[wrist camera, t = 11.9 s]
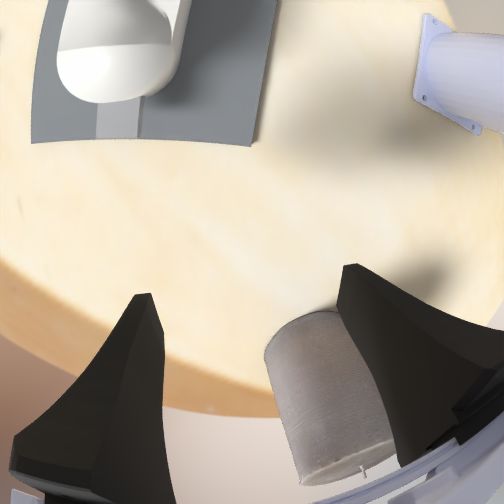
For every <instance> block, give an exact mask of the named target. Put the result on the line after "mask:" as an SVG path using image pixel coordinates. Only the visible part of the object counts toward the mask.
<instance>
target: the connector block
mask: <svg viewBox="0 0 504 504" xmlns="http://www.w3.org/2000/svg"><path fill="white" fill-rule="evenodd" d="M191 3H192V0H69V2H68V5H67V9H66V13H65V17H64V21H63V26H62V30H61V35H60V40H59V45H58V51H57V69H58V74H59V77H60V79H61V81H62V83H63V85H64V86H65V87H66V89H67V90H68V91H69V92H70V93H71V94H73V95H74V96H76V97H77V98H80V99H82V100H84V101H88V102H93V103H98V109H97V124H96V139H137V138H138V137H139V136H141V132H142V121H143V110H144V101H145V98H146V97H150V96H152V95H154V94H156V93H158V92H160V91H161V90H162V89H164V88H165V87H166V86H167V85H168V84H169V83H170V82H171V80H172V79H173V77H174V76H175V74H176V72H177V69H178V66H179V62H180V56H181V51H182V45H183V40H184V35H185V30H186V25H187V21H188V16H189V11H190V7H191Z"/></svg>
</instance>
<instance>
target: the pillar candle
mask: <svg viewBox="0 0 504 504" xmlns="http://www.w3.org/2000/svg"><path fill="white" fill-rule="evenodd" d="M264 361H265V363H266V366H267V371H268V375H269V378H270V383H271V386H272V390H273V392H274V397H275V400H276V403H277V408H278V411H279V414H280V418H281V420H282V424H283V426H284V429H285V432H286V436H287V439H288V442H289V445H290V449H291V451H292V455H293V459H294V462H295V466H296V469H297V472H298V474H299V478H300V483H299V485H304V486H316V485H323V484H328V483H331V482H335V481H339V480H342V479H344V478H347V477H350V476H352V475H355V474H357V473H360V472H363V477H364V478H366V477H367V476H366V473H365V470H367V469H369V468H371V467H373V466H375V465H377V464H379V463H380V462H382V461H384V460H386V459H387V458H389V457H391V456H392V455H394V454H396V448H395V443H394V439H393V434H392V430H391V427H390V423H389V420H388V416H387V413H386V410H385V407H384V404H383V401H382V399H381V396H380V393H379V391H378V388H377V386H376V383H375V381H374V378H373V376H372V374H371V372H370V370H369V368H368V366H367V364H366V363H365V361H364V359H363V357H362V356H361V354H360V352H359V350H358V349H357V347H356V345H355V343H354V342H353V340H352V338H351V336H350V335H349V333H348V331H347V329H346V328H345V326H344V323H343V321H342V318H341V316H340V314H339V313H337V312H330V311H324V312H316V313H312V314H308V315H305V316H302V317H299V318H297V319H295V320H294V321H291V322H289V323H288V324H286V325H285V326H283V327H282V328H281V329H280V330H279V331H278V333H277V334H276V335H275V336H274V338H273V339H272V340H271V341H270V343H269V344H268V346H267V347H266V349H265V353H264Z"/></svg>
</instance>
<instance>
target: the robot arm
mask: <svg viewBox="0 0 504 504" xmlns="http://www.w3.org/2000/svg"><path fill="white" fill-rule="evenodd" d="M433 22H434V23H433ZM423 96H424V99H422V97H423ZM413 98H414V100H415V101H417V102H419V103H421V104H423V105H425V106H427V107H429V108H431V109H432V110H434V111H436V112H438V113H440V114H442V115H444V116H445V117H447V118H449V119H451V120H452V121H454V122H456V123H457V124H459V125H461V126H462V127H464V128H466V129H467V130H469V131H470V132H472V133H474V134H475V135H480V134H481V130H482V127H485V128H488V129H490V130H493V131H496V132H499V133H501V134H504V35H498V34H485V33H455V32H454V31H453V30H452V29H450V28H449V27H448V26H446V25H445V24H444V23H442V22H441V21H439V20H438V19H437V18H435V17H434V16H432V15H431V14H424V15H423V24H422V34H421V43H420V51H419V59H418V65H417V72H416V78H415V84H414V89H413ZM336 306H337V308H338V311H339V314H340V316H341V318H342V321H343V323H344V326H345V328H346V329H347V331H348V333H349V335H350V336H351V338H352V340H353V342H354V343H355V345H356V347H357V349H358V350H359V352H360V354H361V356H362V357H363V359H364V361H365V363H366V364H367V366H368V368H369V370H370V372H371V374H372V376H373V378H374V381H375V383H376V386H377V388H378V391H379V393H380V396H381V399H382V401H383V404H384V407H385V410H386V413H387V416H388V420H389V423H390V427H391V430H392V434H393V439H394V443H395V448H396V453H397V459H398V462H399V464H400V467H401V469H399V470H397V471H395V472H393V473H391V474H388V475H386V476H384V477H382V478H380V479H377V480H375V481H373V482H370V483H368V484H365V485H363V486H361V487H358V488H355V489H353V490H350V491H347V492H345V493H342V494H339V495H336V496H333V497H330V498H327V499H323V500H320V501H317V502H313V503H310V504H365V503H368V502H370V501H372V500H375V499H377V498H379V497H382V496H384V495H386V494H388V493H390V492H392V491H394V490H396V489H398V488H400V487H402V486H404V485H406V484H408V483H410V482H412V481H413V480H415V479H417V478H419V477H420V476H422V475H424V474H426V473H427V472H428V474H427V477H426V480H425V481H424V482H422V483H420V484H418V485H416V486H415V487H413V488H411V489H409V490H407V491H405V492H403V493H401V494H399V495H398V496H396V497H394V498H392V499H390V500H388V504H485V503H486V502H487V501H488V500H489V499H490V497H491V496H492V495H493V494H494V493H495V492H496V491H497V489H498V488H499V487H500V486H501V485H502V483H503V482H504V331H502V330H496V329H491V328H488V327H484V326H481V325H477V324H474V323H471V322H468V321H465V320H462V319H460V318H457V317H454V316H452V315H450V314H447V313H445V312H443V311H441V310H439V309H436V308H434V307H432V306H430V305H428V304H426V303H424V302H422V301H421V300H419V299H417V298H415V297H413V296H412V295H410V294H408V293H406V292H405V291H403V290H401V289H400V288H398V287H396V286H395V285H393V284H392V283H390V282H388V281H387V280H385V279H383V278H382V277H380V276H379V275H377V274H375V273H374V272H372V271H370V270H369V269H367V268H365V267H363V266H362V265H360V264H358V263H356V264H350V265H344V266H343V272H342V278H341V283H340V289H339V294H338V299H337V304H336ZM164 364H165V346H164V331H163V328H162V326H161V323H160V320H159V317H158V314H157V311H156V308H155V304H154V301H153V298H152V295H151V293H145V294H136V295H134V297H133V298H132V300H131V301H130V303H129V304H128V306H127V308H126V309H125V311H124V313H123V314H122V316H121V318H120V319H119V321H118V322H117V324H116V326H115V327H114V329H113V330H112V332H111V333H110V335H109V337H108V338H107V340H106V341H105V343H104V344H103V345H102V347H101V348H100V350H99V351H98V353H97V354H96V356H95V357H94V358H93V360H92V361H91V363H90V364H89V365H88V367H87V368H86V369H85V370H84V372H83V373H82V374H81V375H80V376H79V378H78V379H77V380H76V381H75V382H74V383H73V384H72V385H71V387H70V388H69V389H68V390H67V391H66V392H65V393H64V394H63V395H62V396H61V397H60V398H59V399H58V400H57V401H56V402H55V403H54V404H53V405H52V406H51V407H50V408H49V409H48V410H47V411H46V412H44V413H43V414H42V415H41V416H40V417H39V418H38V419H36V420H35V421H34V422H33V423H31V424H30V425H29V426H27V427H26V428H25V429H23V430H22V431H21V432H20V433H18V434H17V435H15V436H14V439H13V445H12V450H11V457H10V463H9V472H10V474H11V475H12V476H13V477H15V478H16V479H18V480H19V481H22V482H23V483H25V484H27V485H29V486H31V487H33V488H35V489H37V490H39V491H41V492H43V493H45V500H43V499H41V498H38V497H35V496H32V495H29V494H27V493H24V492H21V491H18V490H16V489H12V492H11V504H176V500H175V496H174V492H173V487H172V483H171V478H170V473H169V468H168V462H167V455H166V448H165V441H164V431H163V419H162V401H163V381H164Z"/></svg>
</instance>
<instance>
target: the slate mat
mask: <svg viewBox="0 0 504 504" xmlns="http://www.w3.org/2000/svg"><path fill="white" fill-rule="evenodd" d="M68 2H69V0H49V1H48V5H47V9H46V12H45V16H44V20H43V25H42V29H41V34H40V39H39V45H38V51H37V57H36V64H35V72H34V81H33V92H32V109H31V144H34V143H45V142H57V141H72V140H95V139H96V124H97V109H98V103H93V102H88V101H84V100H82V99H80V98H77V97H76V96H74V95H73V94H71V93H70V92H69V91H68V90H67V89H66V87H65V86H64V85H63V83H62V81H61V79H60V77H59V74H58V69H57V51H58V45H59V40H60V35H61V30H62V26H63V21H64V17H65V13H66V9H67V5H68ZM276 6H277V0H192V3H191V7H190V11H189V16H188V21H187V25H186V30H185V35H184V40H183V45H182V51H181V56H180V62H179V66H178V69H177V72H176V74H175V76H174V77H173V79H172V80H171V82H170V83H169V84H168V85H167V86H166V87H165V88H164V89H162V90H161V91H160V92H158V93H156V94H154V95H152V96H150V97H146V98H145V101H144V110H143V121H142V132H141V136H139V137H138V138H137V139H154V140H178V141H194V142H208V143H219V144H230V145H239V146H248V147H251V145H252V139H253V133H254V127H255V121H256V115H257V109H258V104H259V98H260V92H261V86H262V81H263V75H264V70H265V64H266V59H267V53H268V48H269V42H270V37H271V32H272V26H273V21H274V16H275V11H276Z"/></svg>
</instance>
